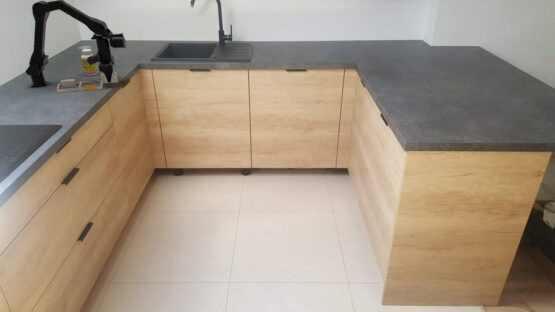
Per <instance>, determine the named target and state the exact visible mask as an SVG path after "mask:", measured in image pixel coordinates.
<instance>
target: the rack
mask: <svg viewBox="0 0 555 312" xmlns="http://www.w3.org/2000/svg"><path fill="white" fill-rule="evenodd" d="M104 84H105V83H104V82H103V80H102V79H99V80H98V79H97V80H86V81H85V80H84V81H76V85H77V86H73V87H62V85H61V82H60V83H58V84H57V86H56V93H57V94H60V93H69V92H70V93H71V92H83V91H96V90H103V89H104Z"/></svg>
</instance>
